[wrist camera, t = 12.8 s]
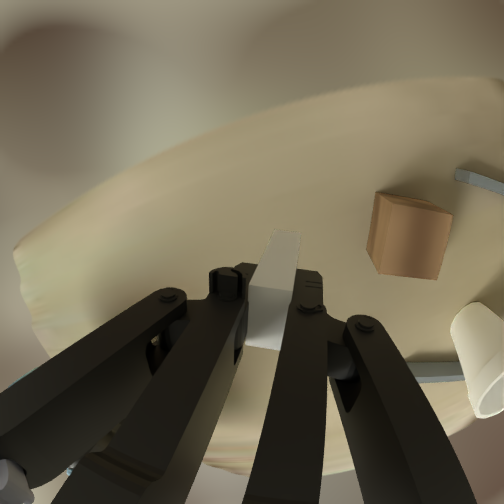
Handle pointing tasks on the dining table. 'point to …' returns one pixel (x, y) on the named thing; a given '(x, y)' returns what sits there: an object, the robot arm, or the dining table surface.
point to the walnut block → (408, 236)
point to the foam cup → (481, 356)
